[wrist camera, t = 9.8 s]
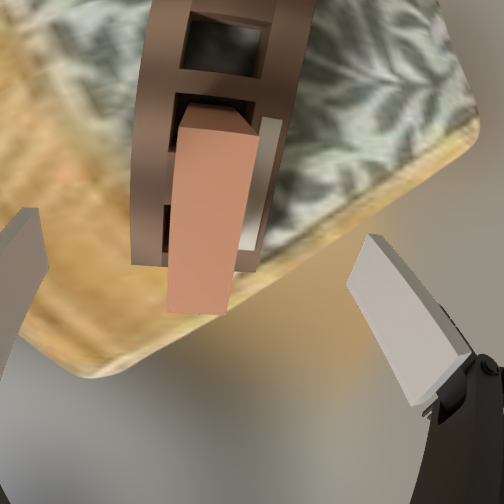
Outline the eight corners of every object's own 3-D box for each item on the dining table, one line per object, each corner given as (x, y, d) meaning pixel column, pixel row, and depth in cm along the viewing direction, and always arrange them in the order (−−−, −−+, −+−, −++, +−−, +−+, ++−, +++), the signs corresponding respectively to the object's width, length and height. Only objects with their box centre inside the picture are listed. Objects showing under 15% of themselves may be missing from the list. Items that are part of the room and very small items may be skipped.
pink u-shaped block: (189, 102, 18) (178, 126, 10) (233, 107, 19) (259, 136, 11) (176, 220, 23) (167, 312, 15) (214, 222, 24) (225, 315, 16)
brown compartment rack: (184, -74, 10) (182, -97, 7) (312, -53, 12) (331, -69, 9) (138, 239, 23) (130, 266, 20) (248, 246, 25) (255, 274, 22)
